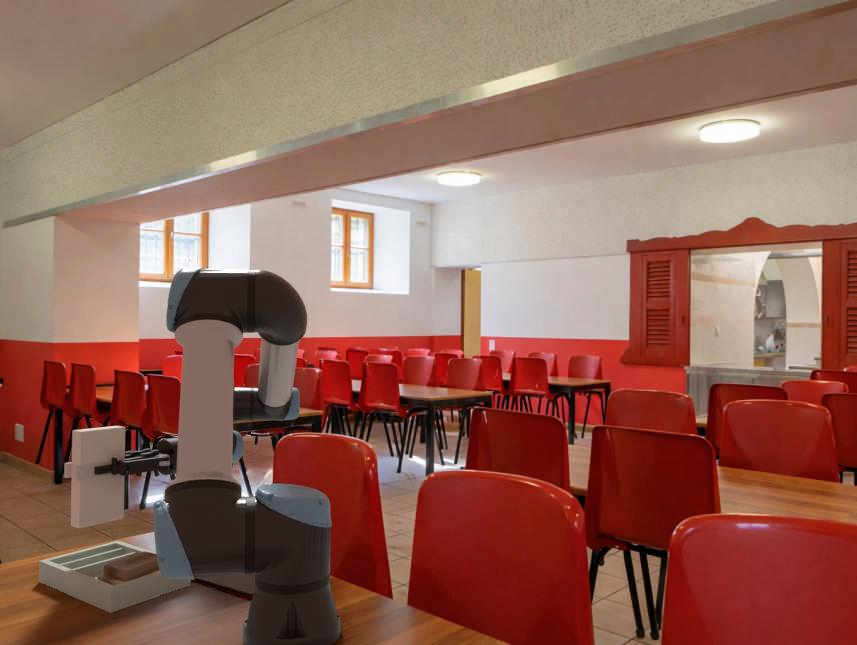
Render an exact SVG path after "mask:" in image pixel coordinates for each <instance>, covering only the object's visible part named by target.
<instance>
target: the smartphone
mask: <svg viewBox="0 0 857 645" xmlns="http://www.w3.org/2000/svg"><path fill="white" fill-rule="evenodd" d="M191 582H192V583H194V582H195V583H194V584H197V583H198V585H200V584H202V585H201V586H204V585H205V587H207V586H208V587H207V588H211V587H212V588H211V589H214V588H215V589H214V590H217V589H218V590H217V591H220V590H221V592H224V593H227V592H228V594H230V593H231V595H234V596H237V597H240V598H244V599H246V598H247V600H250V601H251V600H252V597H253V594H254V591H255V574H245V575H229V576H215V577H203V578H194V580H191Z"/></svg>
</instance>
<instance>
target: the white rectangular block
mask: <svg viewBox="0 0 857 645" xmlns="http://www.w3.org/2000/svg"><path fill="white" fill-rule="evenodd" d="M71 432H72V433H71V434H72V435H71V440H72V441H71V462H72V477H71V485H70V487H71V489H70V491H71V492H70V493H71V495H70V496H71V499H70V508H71V509H70V526H71V527H74V528H77V529H82V528H88V527H93V526H96V525H102V524H106V523H110V522H115V521H118V520H123V519H125V476H121V475H120V474H117V475H112V474H111V473H110V475H107V476H101V477H95V478H89V479H83V480H75V465H81V464H88V463H95V462H101V461H110V464H112V457H113V458H117V460H123V459H125V452H126V426H123V425H122V426H121V425H112V426H111V425H110V426H103V427H92V428H82V429H73V430H72V431H71Z"/></svg>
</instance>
